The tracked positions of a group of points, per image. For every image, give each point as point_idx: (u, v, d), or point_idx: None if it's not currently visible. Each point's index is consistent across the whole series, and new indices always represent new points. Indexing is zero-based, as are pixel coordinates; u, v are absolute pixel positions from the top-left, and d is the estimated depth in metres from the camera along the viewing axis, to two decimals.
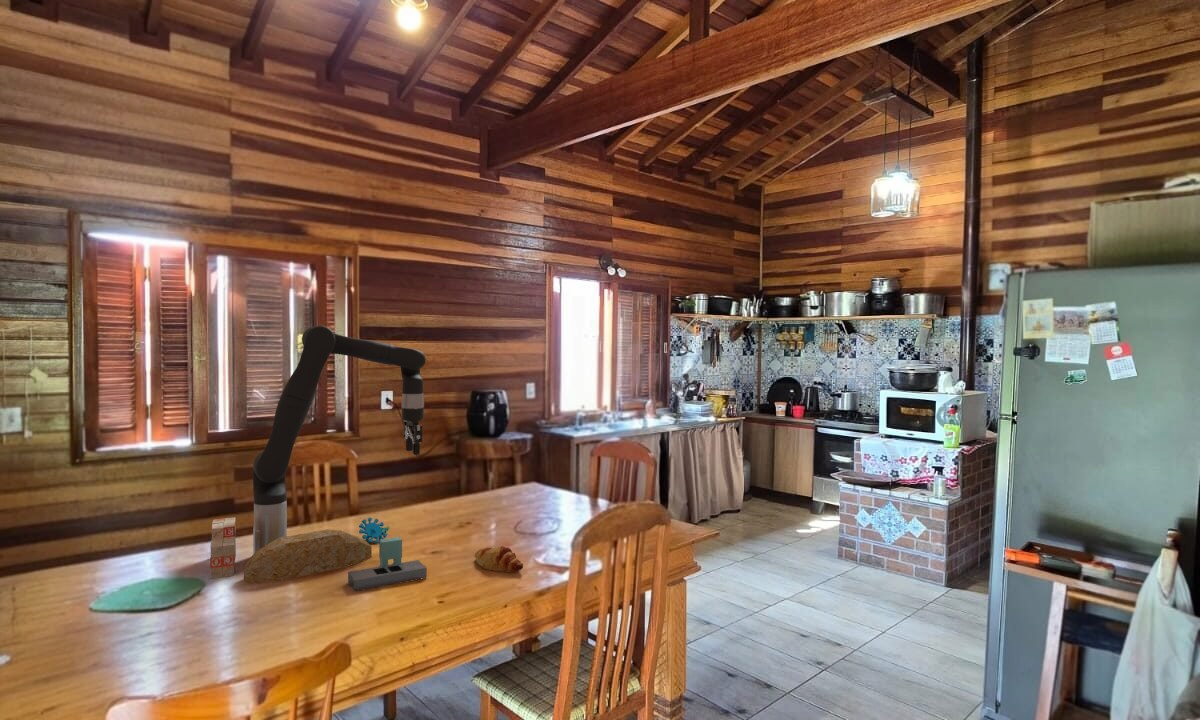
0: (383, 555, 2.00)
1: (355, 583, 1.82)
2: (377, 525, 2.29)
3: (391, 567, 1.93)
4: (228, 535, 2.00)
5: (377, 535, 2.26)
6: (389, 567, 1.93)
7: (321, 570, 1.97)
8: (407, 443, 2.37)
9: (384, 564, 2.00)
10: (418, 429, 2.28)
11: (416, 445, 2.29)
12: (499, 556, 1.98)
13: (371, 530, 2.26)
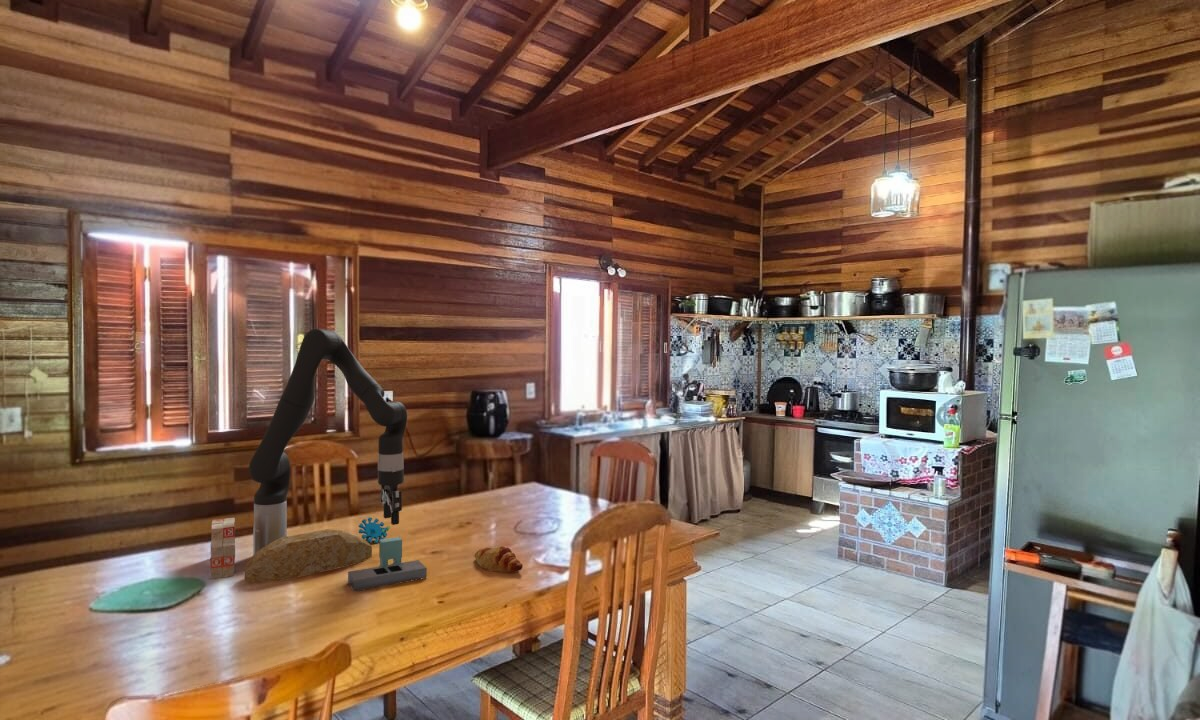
0: (383, 555, 2.00)
1: (355, 583, 1.82)
2: (377, 525, 2.29)
3: (391, 567, 1.93)
4: (228, 535, 2.00)
5: (377, 535, 2.26)
6: (389, 567, 1.93)
7: (322, 570, 1.97)
8: (385, 509, 2.05)
9: (384, 564, 2.00)
10: (397, 496, 1.96)
11: (395, 514, 1.98)
12: (498, 557, 1.98)
13: (371, 530, 2.26)
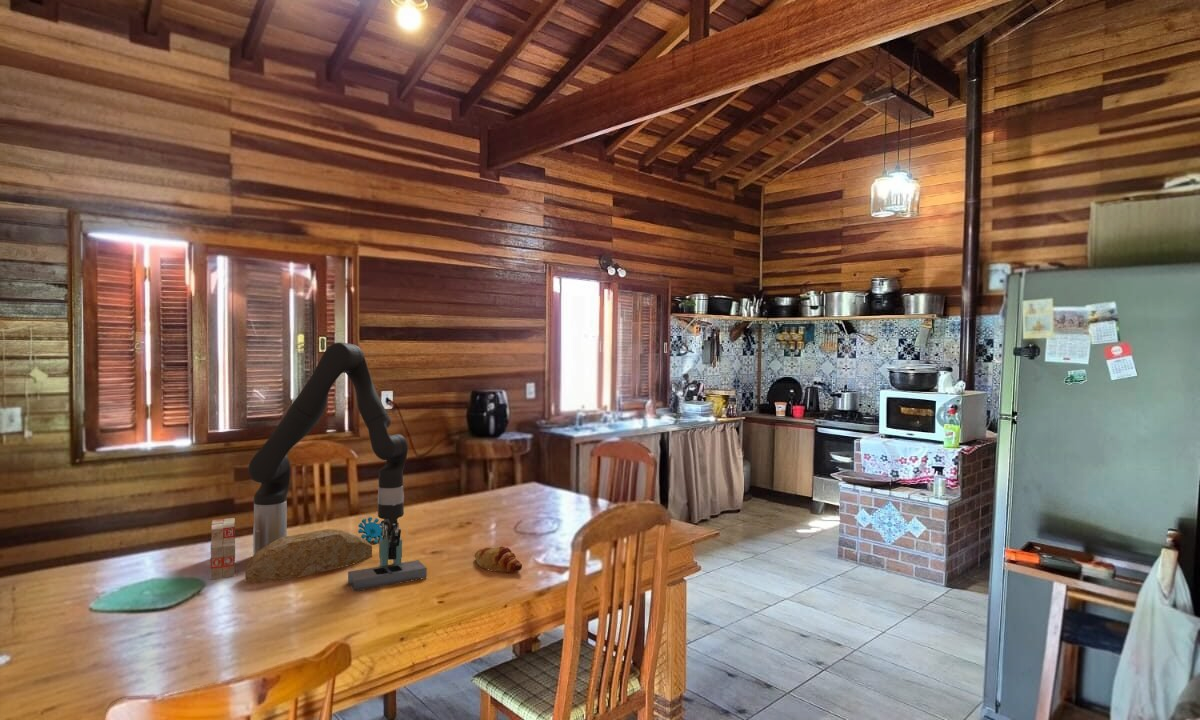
0: (383, 555, 2.00)
1: (355, 583, 1.82)
2: (377, 525, 2.29)
3: (391, 567, 1.93)
4: (228, 536, 1.99)
5: (376, 535, 2.26)
6: (389, 567, 1.93)
7: (323, 570, 1.97)
8: None
9: (384, 564, 2.00)
10: (396, 535, 1.97)
11: (392, 549, 2.00)
12: (498, 557, 1.98)
13: (370, 530, 2.26)
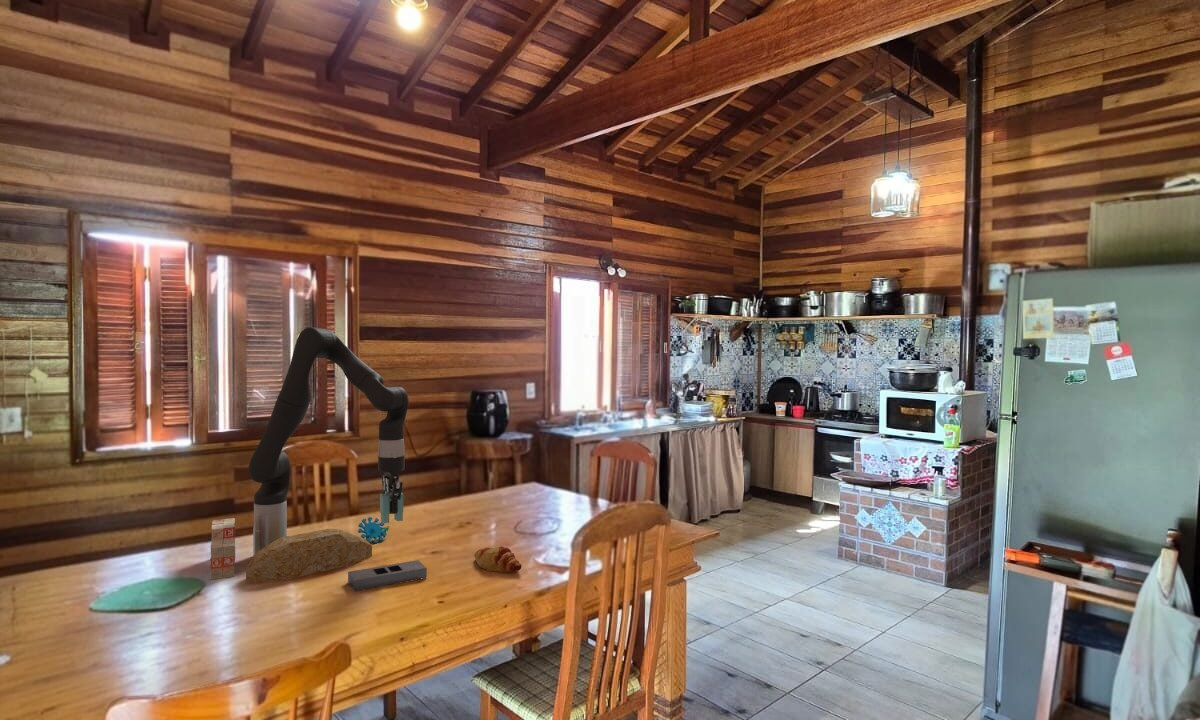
0: (384, 509, 1.96)
1: (355, 583, 1.82)
2: (377, 525, 2.29)
3: (391, 567, 1.93)
4: (228, 536, 1.99)
5: (376, 535, 2.26)
6: (389, 567, 1.93)
7: (323, 569, 1.98)
8: None
9: (385, 518, 1.96)
10: (397, 488, 1.93)
11: (393, 503, 1.96)
12: (498, 557, 1.98)
13: (370, 530, 2.26)
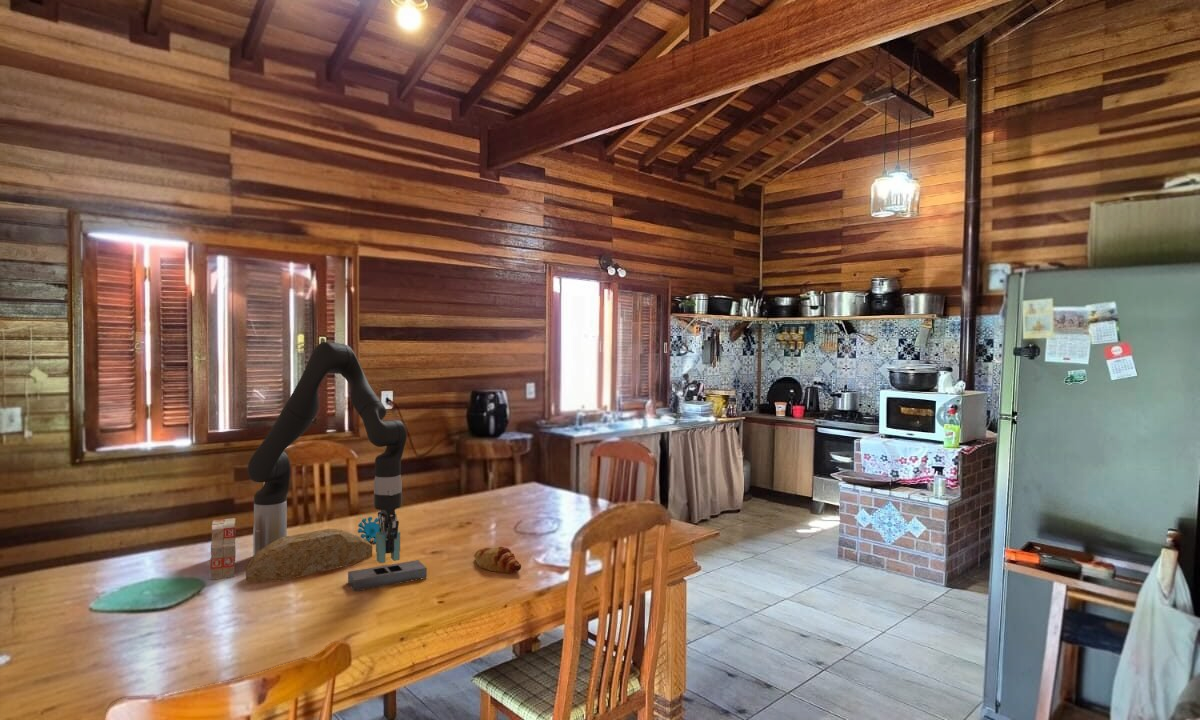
0: (380, 549, 1.88)
1: (355, 583, 1.82)
2: (377, 525, 2.30)
3: (391, 567, 1.93)
4: (228, 536, 1.99)
5: None
6: (389, 567, 1.93)
7: (323, 569, 1.98)
8: None
9: (381, 558, 1.88)
10: (393, 527, 1.85)
11: (389, 542, 1.88)
12: (497, 557, 1.98)
13: (370, 529, 2.27)
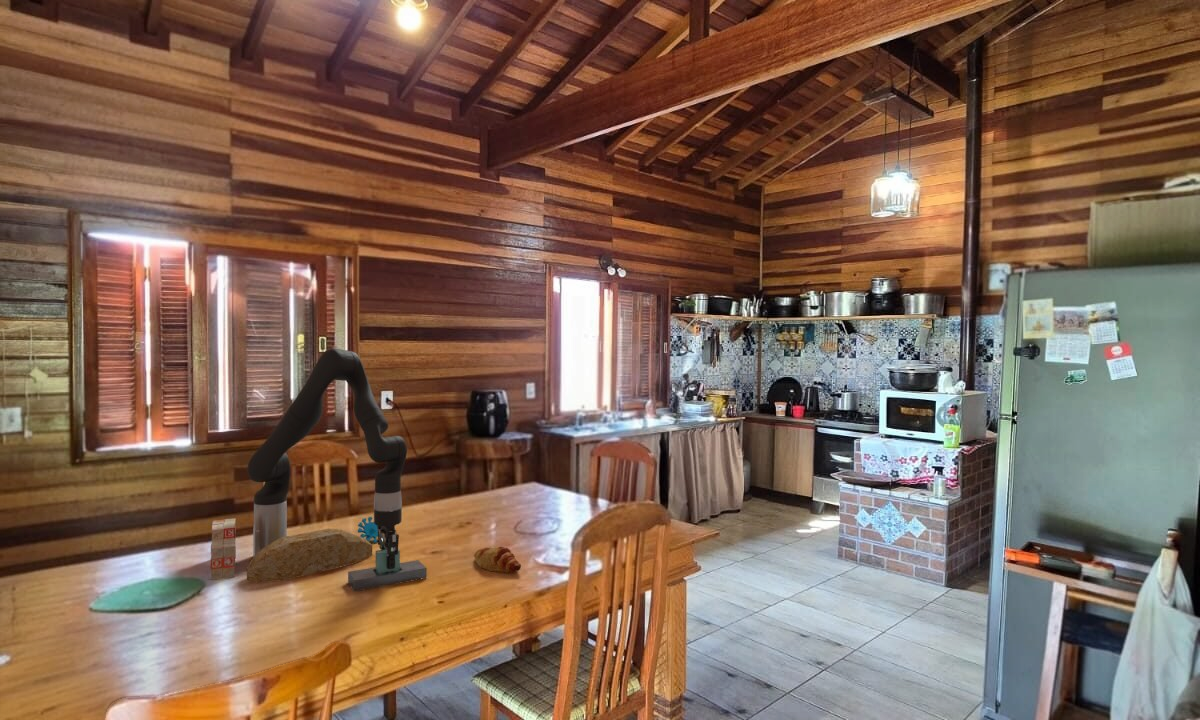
0: (380, 567, 1.88)
1: (355, 583, 1.82)
2: None
3: None
4: (228, 536, 1.99)
5: (376, 534, 2.27)
6: None
7: (324, 569, 1.98)
8: None
9: None
10: (393, 540, 1.84)
11: (390, 558, 1.87)
12: (497, 557, 1.98)
13: (370, 529, 2.27)
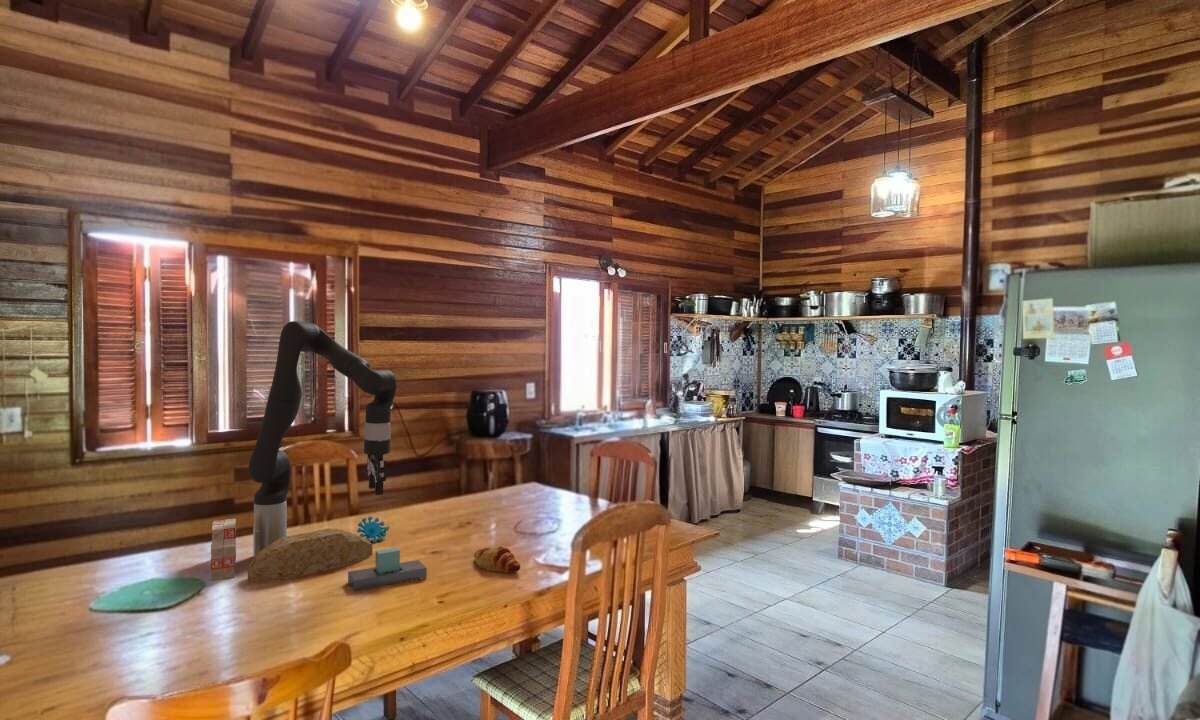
0: (380, 567, 1.88)
1: (355, 583, 1.82)
2: (377, 524, 2.30)
3: None
4: (228, 536, 1.99)
5: (375, 534, 2.27)
6: None
7: (325, 569, 1.98)
8: (370, 479, 2.02)
9: None
10: (381, 466, 1.92)
11: (379, 484, 1.94)
12: (497, 557, 1.98)
13: (370, 529, 2.27)
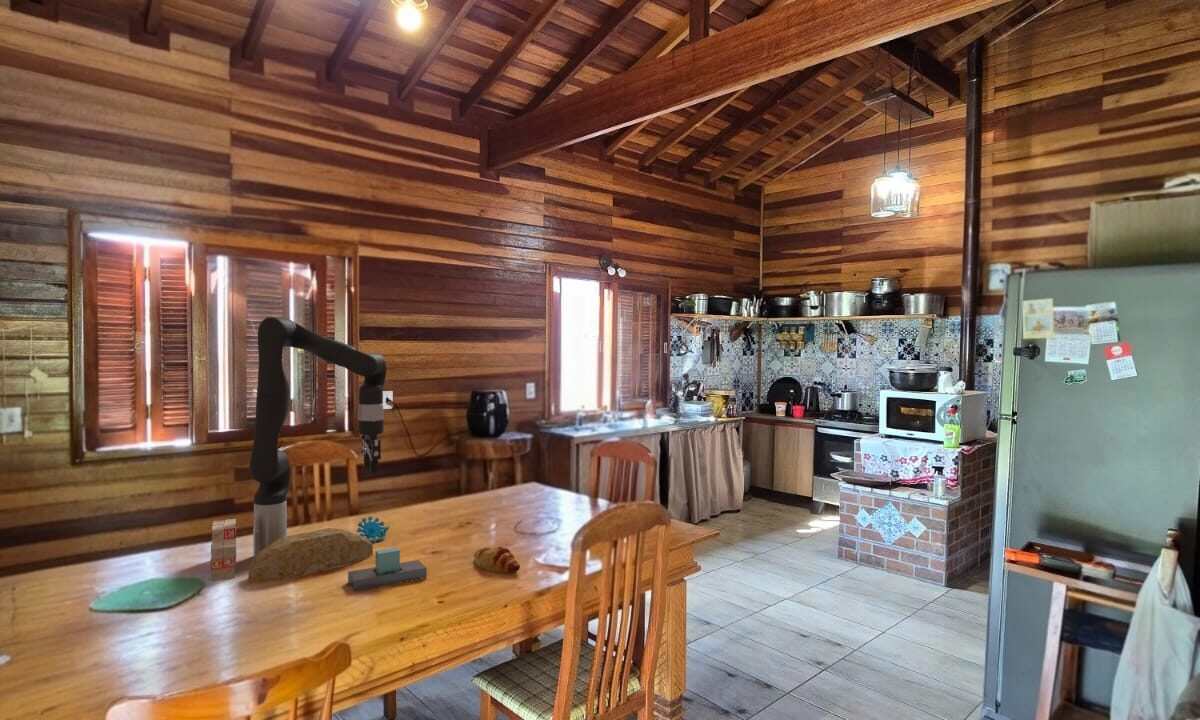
0: (380, 567, 1.88)
1: (355, 583, 1.82)
2: (377, 524, 2.30)
3: None
4: (228, 537, 1.98)
5: (375, 534, 2.27)
6: None
7: (325, 568, 1.98)
8: (365, 459, 2.10)
9: None
10: (376, 445, 2.01)
11: (374, 462, 2.02)
12: (496, 557, 1.98)
13: (369, 529, 2.27)
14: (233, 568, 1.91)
